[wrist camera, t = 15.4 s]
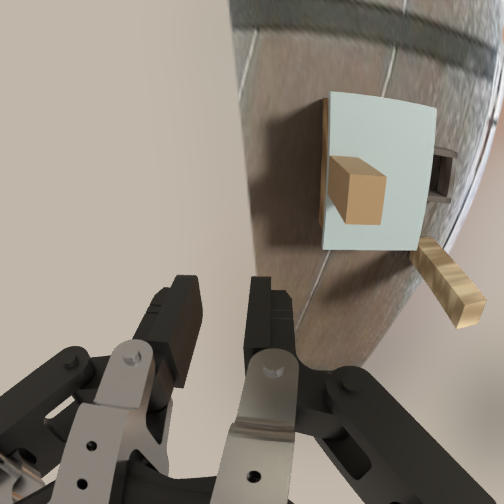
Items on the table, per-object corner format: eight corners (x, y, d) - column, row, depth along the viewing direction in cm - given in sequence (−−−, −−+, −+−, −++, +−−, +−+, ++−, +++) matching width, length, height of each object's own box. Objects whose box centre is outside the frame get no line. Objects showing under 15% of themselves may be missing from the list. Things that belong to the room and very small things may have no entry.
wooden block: (411, 238, 38) (464, 305, 24) (431, 236, 38) (486, 300, 24) (409, 258, 40) (456, 329, 26) (427, 256, 39) (477, 323, 25)
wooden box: (322, 98, 30) (332, 97, 25) (448, 118, 29) (473, 123, 24) (318, 220, 38) (325, 240, 33) (434, 224, 37) (453, 242, 32)
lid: (328, 91, 25) (352, 86, 17) (432, 107, 24) (481, 115, 16) (321, 245, 33) (335, 292, 25) (413, 246, 32) (445, 288, 24)
